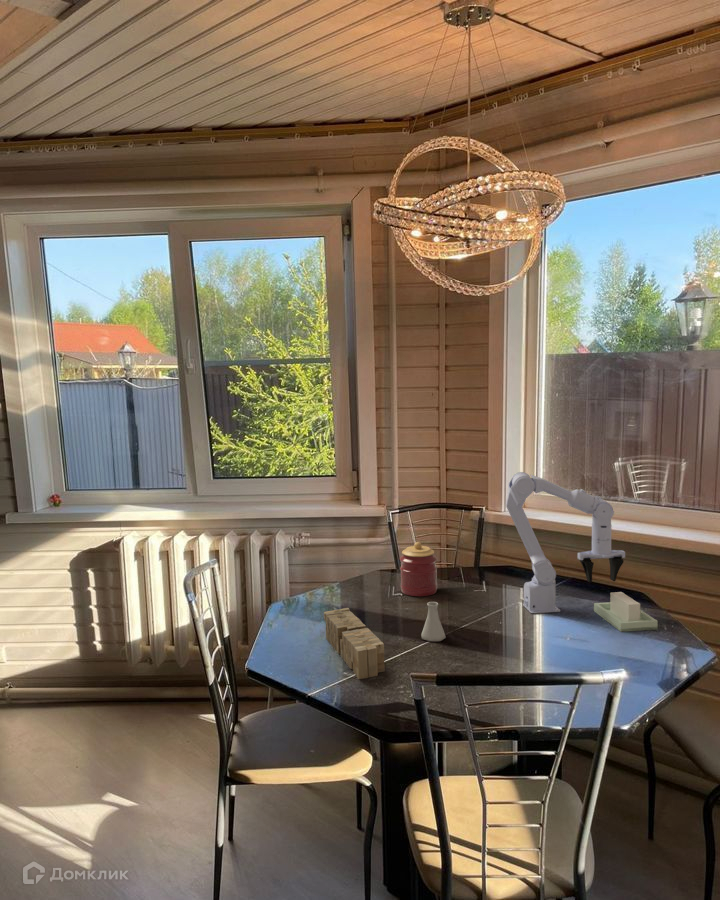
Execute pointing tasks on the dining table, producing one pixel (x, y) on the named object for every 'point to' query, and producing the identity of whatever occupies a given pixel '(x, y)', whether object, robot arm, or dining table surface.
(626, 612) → the beige rectangular block
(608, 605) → the tray
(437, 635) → the flask
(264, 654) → the dining table surface
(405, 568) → the canister
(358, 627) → the block tower
